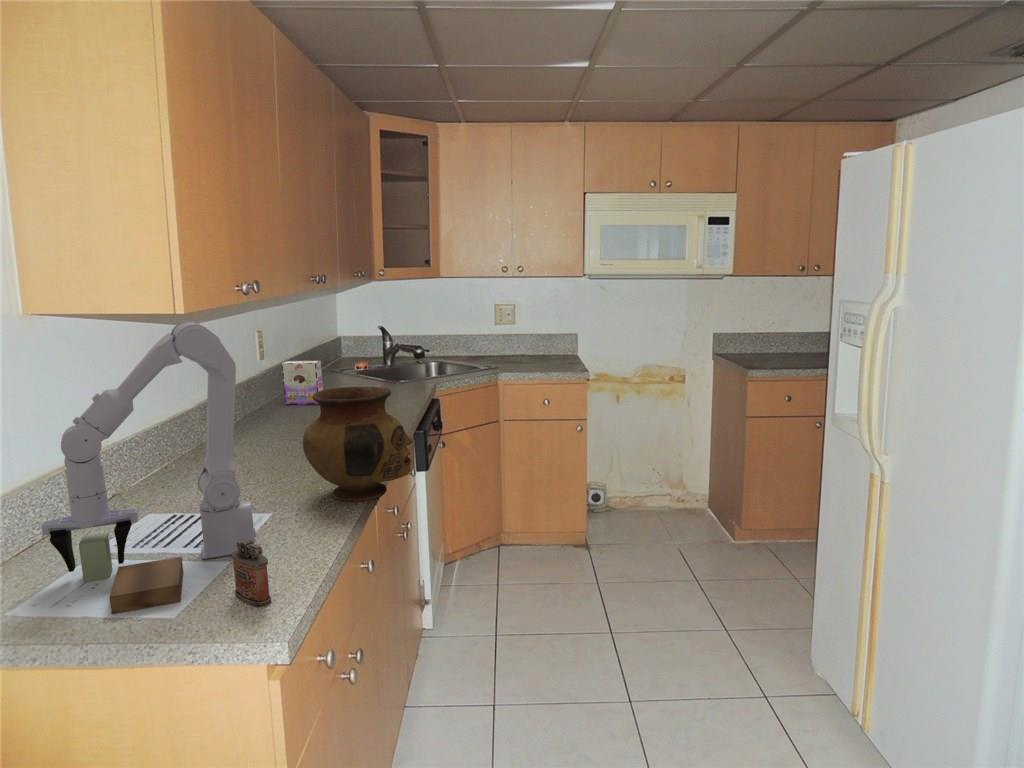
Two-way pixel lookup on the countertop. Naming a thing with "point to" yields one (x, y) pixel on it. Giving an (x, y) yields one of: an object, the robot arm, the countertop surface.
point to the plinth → (147, 585)
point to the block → (95, 557)
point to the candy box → (301, 381)
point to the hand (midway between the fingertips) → (97, 565)
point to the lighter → (251, 574)
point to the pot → (356, 442)
